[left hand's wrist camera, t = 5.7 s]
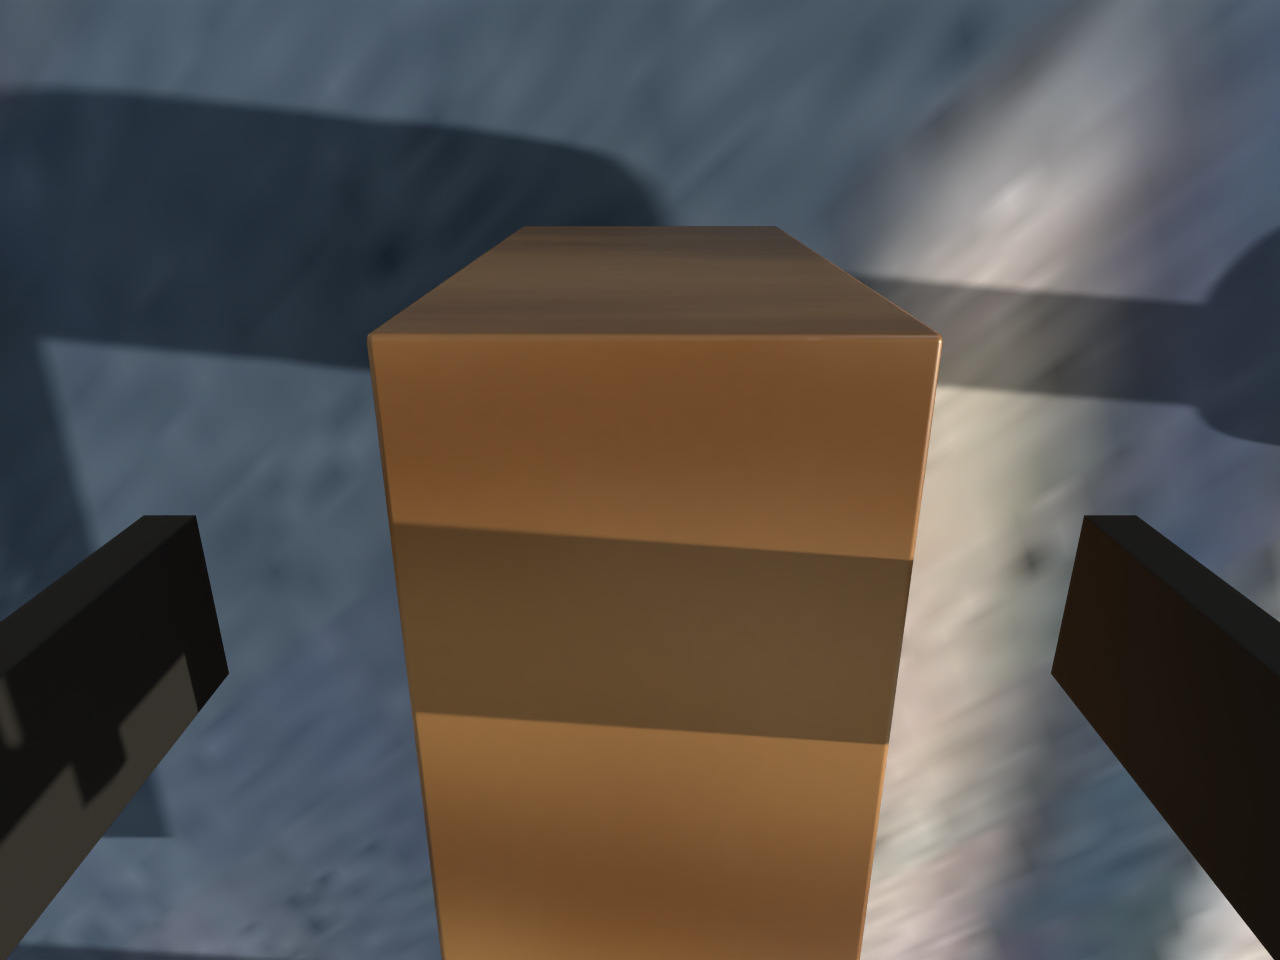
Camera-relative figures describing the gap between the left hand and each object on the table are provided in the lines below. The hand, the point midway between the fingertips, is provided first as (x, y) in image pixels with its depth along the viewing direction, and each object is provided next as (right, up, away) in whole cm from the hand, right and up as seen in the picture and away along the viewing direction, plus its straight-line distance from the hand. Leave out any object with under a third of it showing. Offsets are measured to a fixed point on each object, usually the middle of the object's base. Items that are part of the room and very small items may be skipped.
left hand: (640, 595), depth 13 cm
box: (0, -5, +13) cm, 14 cm away
